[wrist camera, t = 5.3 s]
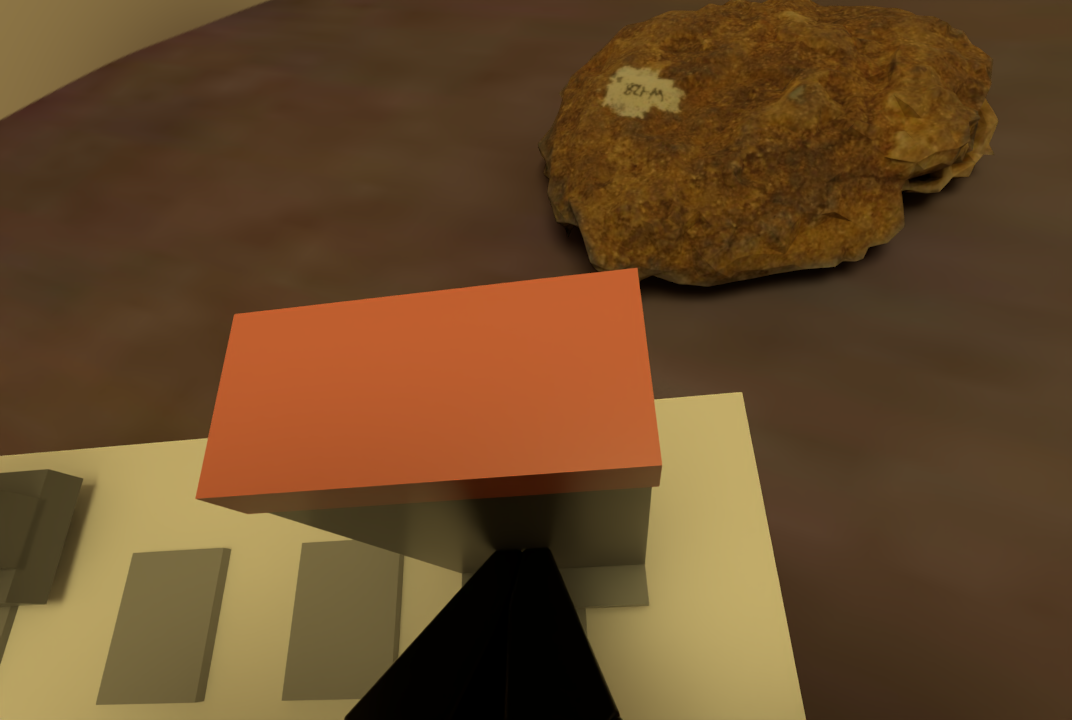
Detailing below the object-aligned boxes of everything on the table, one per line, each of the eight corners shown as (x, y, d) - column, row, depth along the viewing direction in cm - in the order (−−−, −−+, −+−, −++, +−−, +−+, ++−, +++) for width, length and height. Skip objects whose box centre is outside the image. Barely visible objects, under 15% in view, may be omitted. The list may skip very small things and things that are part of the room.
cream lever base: (785, 815, 14) (843, 889, 10) (-62, 811, 17) (-275, 866, 13) (720, 440, 17) (744, 387, 14) (41, 492, 20) (-99, 460, 16)
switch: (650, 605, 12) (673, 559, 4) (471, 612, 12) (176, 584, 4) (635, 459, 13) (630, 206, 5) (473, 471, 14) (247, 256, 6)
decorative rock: (882, 24, 24) (531, 127, 25) (919, -88, 20) (508, 39, 22) (1048, 232, 18) (586, 349, 20) (1139, 128, 15) (568, 280, 16)
